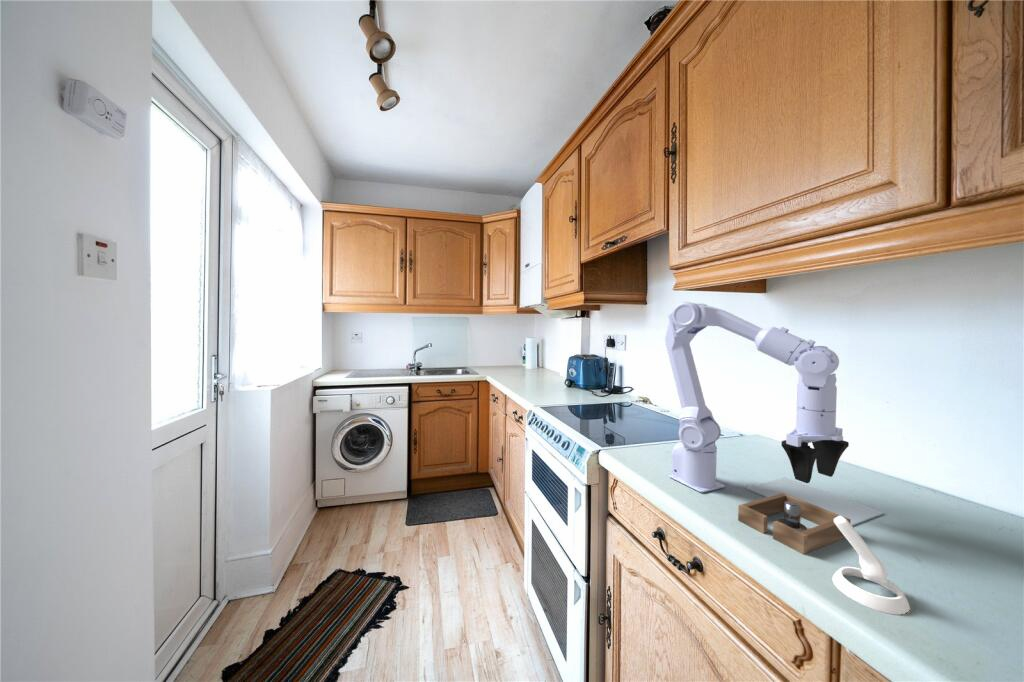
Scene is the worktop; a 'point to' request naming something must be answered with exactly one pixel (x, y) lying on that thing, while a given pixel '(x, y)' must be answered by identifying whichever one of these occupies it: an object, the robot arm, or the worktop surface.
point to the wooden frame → (799, 541)
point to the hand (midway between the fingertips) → (814, 477)
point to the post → (792, 516)
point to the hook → (867, 576)
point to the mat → (817, 499)
